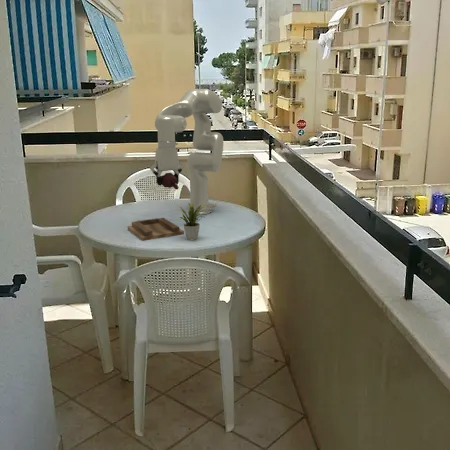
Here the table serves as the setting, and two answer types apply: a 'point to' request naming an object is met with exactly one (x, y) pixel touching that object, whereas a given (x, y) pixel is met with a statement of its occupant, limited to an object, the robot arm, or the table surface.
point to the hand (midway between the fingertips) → (167, 184)
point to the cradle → (154, 229)
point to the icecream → (169, 180)
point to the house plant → (191, 222)
